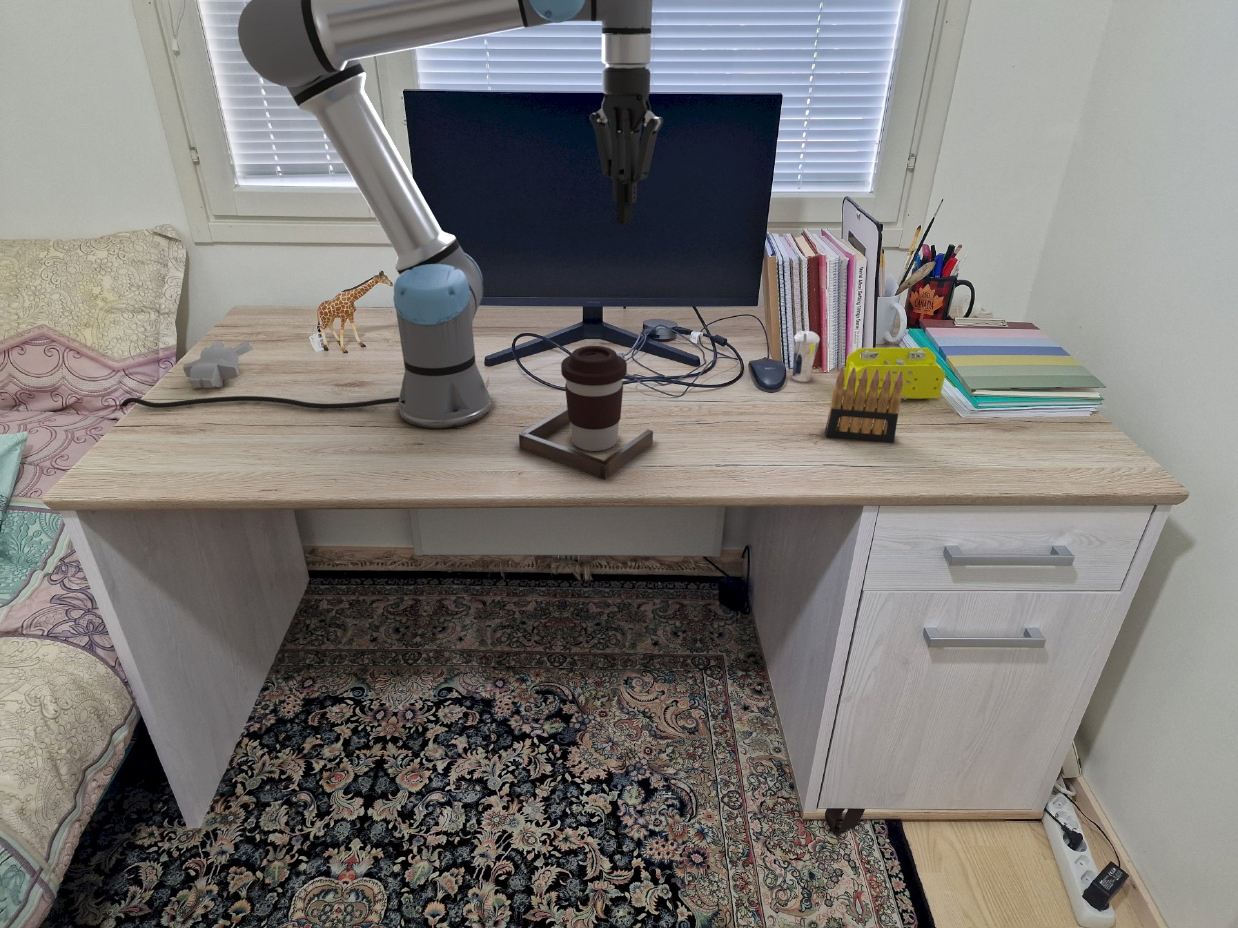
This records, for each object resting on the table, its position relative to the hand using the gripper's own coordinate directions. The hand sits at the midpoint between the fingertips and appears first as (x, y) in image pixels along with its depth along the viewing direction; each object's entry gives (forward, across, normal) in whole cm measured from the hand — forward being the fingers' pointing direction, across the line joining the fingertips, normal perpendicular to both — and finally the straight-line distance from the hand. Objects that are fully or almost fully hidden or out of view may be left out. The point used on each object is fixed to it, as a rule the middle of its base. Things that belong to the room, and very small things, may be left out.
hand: (624, 222), depth 129 cm
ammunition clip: (+29, -45, -2) cm, 53 cm away
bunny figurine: (+29, +61, +44) cm, 80 cm away
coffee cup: (+29, -11, +24) cm, 39 cm away
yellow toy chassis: (+29, -44, -20) cm, 56 cm away
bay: (+28, -11, +26) cm, 40 cm away
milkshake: (+29, -28, -18) cm, 44 cm away
